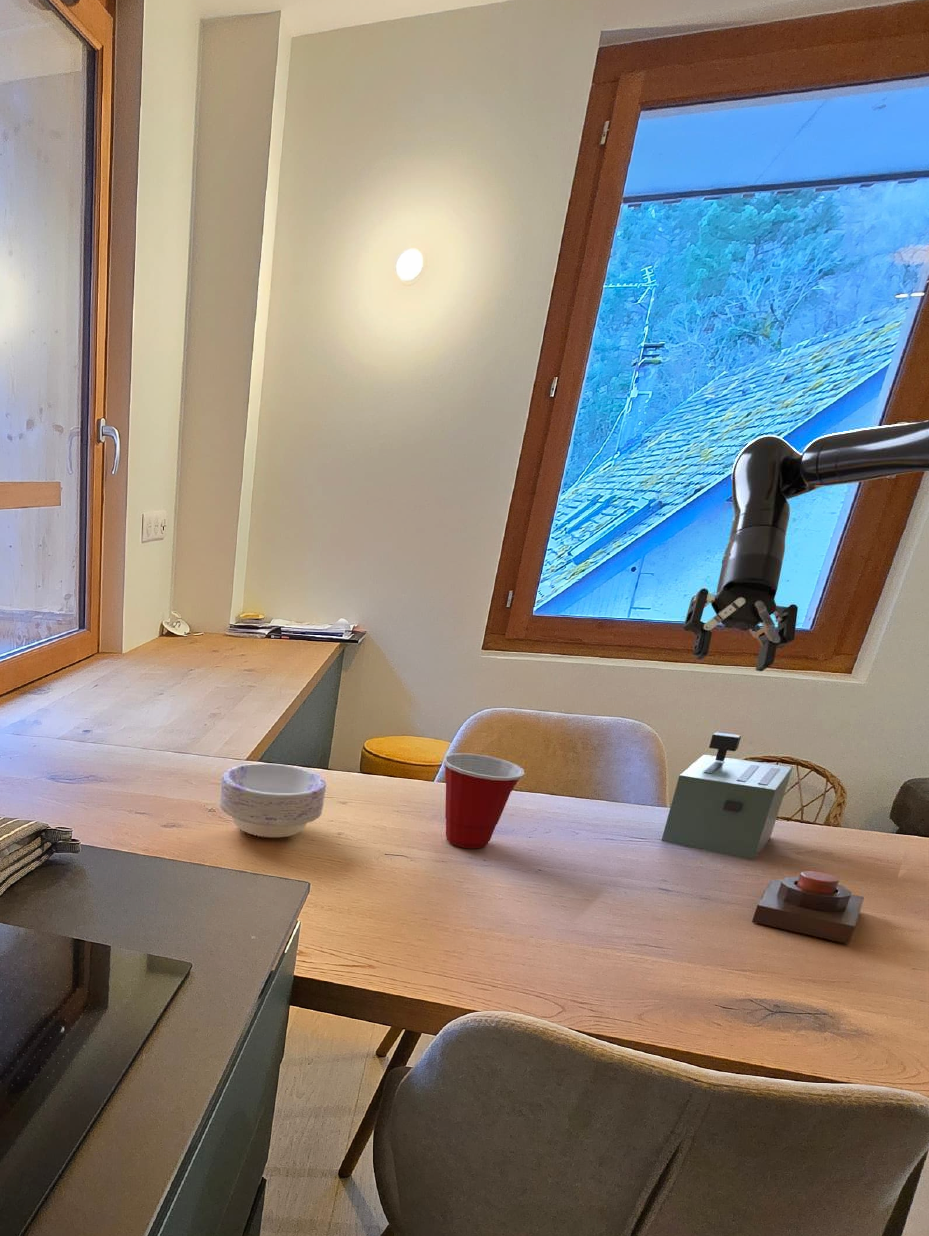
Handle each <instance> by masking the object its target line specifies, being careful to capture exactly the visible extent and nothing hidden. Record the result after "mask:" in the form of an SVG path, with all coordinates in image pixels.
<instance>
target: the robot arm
mask: <svg viewBox="0 0 929 1236" xmlns="http://www.w3.org/2000/svg"><path fill="white" fill-rule="evenodd" d="M920 472H929V419H928V420H923V421H919V422H917V421H916V422H910V423H901V424H891V425H882V426H874V427H868V428H860V429H854V430H849V431H843V432H837V433H832V434H831V433H830V434H827V435H824V436H820V437H818V438H816V439H814V440H813V441H812V442H810V443H809V444H808V445H807V446H806V447H805V448H804V450H803V451H802V453H800V452H799V451H797V449H795V448H794V447H793V446H791V444H789V443H788V442H787V441H786V440H784V439H783V438H781V437H779V436H777V435H764V436H760V437H758V438H755V439H753V440H751V441H750V442H749V443H748V444H747V445H746V446H745V447H744V448H743V449H742V450H741V451H740V453H739V454H738V456H737V457H736V459H735V462H734V464H733V467H732V472H731V495H732V506H733V514H734V516H733V520H732V524H731V529H730V533H729V539H728V543H727V545H726V547H725V551H724V554H723V557H722V560H721V568H720V572H719V578H718V582H717V588H716V594H714V593H710V592H709V590H708V589H707V588H704V587H703V588H701V589H700V590H699V591H698V592H696V593H695V594H694V595H693V596H692V597H691V598H690V603H689V607H688V609H687V613H686V616H685V620H684V624H683V630H684V631H685V632H692V633H693V634H694V635H695V639H694V643H693V649H692V654H693V655H694V657H695V660H699V661H702V660H703V659H704V658H705V657H707V655H708V654H709V649H710V645H711V640H712V636H713V632H712V631H711V630H713V629H714V628H715V627H717V626H718V625H720V624H722V626H724V628H726V629H737V630H739V631H744V632H747V631H749V633H750V635H751V636H752V638H754V639H756V640H757V641H758V643H759V644H760V647H761V648H759V651H758V655H757V661H756V665H755V671H757V672H764V671H765V670H766V669H768V668H769V667H771V666H773V664H774V663H775V658H776V653H777V649H783V648H784V647H785V646H786V645H788V644H790V643H791V642H794V640H795V635H796V628H797V619H798V609H799V607H798V606H797V605H796V604H794V603H793V604H790V605H788V606H781V605H777V602H776V600H775V598H776V595H777V591H778V587H779V582H780V577H781V572H782V567H783V562H784V557H785V552H786V536H787V531H788V525H789V522H790V521H789V520H790V517H791V516H790V515H791V507H790V503H789V502H788V500H789V499H793V498H796V497H799V496H801V495H804V494H807V493H810V492H813V491H815V490H817V489H819V488H822V487H829V486H831V487H832V486H839V485H840V486H841V485H846V484H854V483H863V482H869V481H874V480H880V479H885V478H889V477H894V476H897V475H904V474H911V473H920ZM709 605H711V608H712V610H713V611H714V613H715V616H713V617H712V618H710V619H709V620H707V622H704V621H702V616H703V613H704V610H705V608H707V606H709ZM771 615H773V616H774V617H775V620H773V619H772V617H771ZM774 621H775V622H776V623H777V629H776V628H775V627H776V623H775V622H774ZM760 624H761V625H762V626H761V627H760Z"/></svg>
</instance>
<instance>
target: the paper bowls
mask: <svg viewBox="0 0 929 1236" xmlns="http://www.w3.org/2000/svg"><path fill="white" fill-rule="evenodd" d="M220 780H221V782H220V796H219V806H220V807H219V808H220V809H221V810H222V811H223V813H224V814H226V815H228V816H230V817H231V819H232V821H233V823H234V825H235V826H236V827H237V828H238V829H239V830H240V831H242V832H244V831H245V832H244V833H246V832H247V833H246V834H250V835H252V834H253V836H256V835H257V836H256V837H261V838H286V837H290V836H294V835H296V834H298V833H300V832H301V831H302V830H304V829H305V828H306V826H307V824H308V823H311V822H314V821H316V820H317V819H319V818H320V817H321V816H322V813H323V807H324V803H325V801H324V800H325V795H326V789H327V784H326V781H325V779H324V778H323V777H322V776H321V775H320V774H317V773H316V772H314V771H312V770H308V769H305V768H302V767H298V766H294V765H287V764H282V763H281V764H280V763H270V762H269V763H268V762H267V763H266V762H265V763H264V762H263V763H260V762H259V763H258V762H257V763H247V764H241V765H237V766H233V767H230V768H229V769H227V770H226V771H224V773H223V774H222V776H221V779H220Z"/></svg>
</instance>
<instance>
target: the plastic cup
mask: <svg viewBox="0 0 929 1236" xmlns="http://www.w3.org/2000/svg"><path fill="white" fill-rule="evenodd" d="M443 765H444V769H445V770H444V771H445V772H444V773H445V778H444V779H445V806H444V807H445V813H444V815H445V816H444V818H445V836H446V838H445V839H446V841H447V842H448V843H449V844H452V845H454V846H456V847H461V848H465V849H481V848H485V847H486V846H488V845H489V842H490V841H491V839H492V836H493V834H494V831H495V828H496V826H497V825H498V823H499V822H500V819H501V816H502V814H503V812H504V809H505V807H506V805H507V803H508V800H509V797H510V795H511V793H512V792H513V790H514V788H515V787H516V785H517V783H518V782H519V781H520V779H521V778H523V777H524V776H525V774H526V773H525V770H524V768H523V767H521V766H519V765H518V764H516V763H512V762H511V761H508V760H505V759H502V758H498V757H493V756H489V755H483V754H476V753H463V752H460V753H459V752H458V753H450V754H447V755H444V756H443Z"/></svg>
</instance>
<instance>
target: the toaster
mask: <svg viewBox="0 0 929 1236" xmlns="http://www.w3.org/2000/svg"><path fill="white" fill-rule="evenodd" d="M716 756H717V755H710V754H703V755H702V756H700V757H699V758H698V759H696V761H694V762H693V763H692V764H691V765H690V766H689V767H687V768H686V769H685V770H683V772H681V773H680V774H679V775H678V778H677V782H676V786H675V788H674V789H675V790H674V793H673V796H672V801H671V804H670V808H669V812H668V814H667V819H666V822H665V825H664V829H663V833H662V837H661V840H660V841H661V842H664V843H669V844H673V845H677V846H678V845H679V846H684V847H688V848H692V849H697V850H702V851H707V852H711V853H715V854H721V855H724V856H730V857H734V858H738V859H744V860H748V861H754V860H755V859H756V857H757V855H758V854H759V852H762V851H763V850H764V849H765V847H766V846H767V844H768V842H769V841H768V840H770V839H771V837H770V836H772V833H773V831H774V827H775V824H776V821H777V818H778V815H779V812H780V810H781V805H782V802H783V799H784V796H785V793H786V790H787V787H788V783H789V781H790V778H791V774H792V772H793V766H788V765H780V764H774V763H766V762H761V761H751V760H745V759H739V758H738V759H737V758H731V757H725V760H724V761H719V760H715V759H716ZM769 838H770V839H769ZM767 841H768V842H767ZM766 843H767V844H766ZM765 845H766V846H765ZM764 846H765V847H764Z"/></svg>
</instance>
